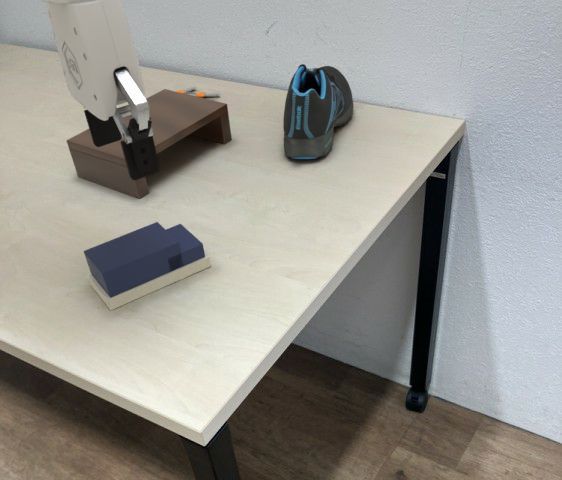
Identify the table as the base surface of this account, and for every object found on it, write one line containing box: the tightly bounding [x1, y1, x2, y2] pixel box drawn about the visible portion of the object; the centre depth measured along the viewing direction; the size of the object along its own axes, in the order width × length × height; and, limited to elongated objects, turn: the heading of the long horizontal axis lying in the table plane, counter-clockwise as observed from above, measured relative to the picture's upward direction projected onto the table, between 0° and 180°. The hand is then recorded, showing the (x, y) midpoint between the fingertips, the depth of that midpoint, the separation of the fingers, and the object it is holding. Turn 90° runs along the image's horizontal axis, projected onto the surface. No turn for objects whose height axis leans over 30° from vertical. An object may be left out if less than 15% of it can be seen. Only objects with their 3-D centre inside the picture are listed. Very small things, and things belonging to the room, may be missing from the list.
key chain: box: [175, 86, 221, 98], centre depth 116 cm, size 13×7×1 cm, turn 118°
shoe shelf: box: [66, 88, 232, 200], centre depth 98 cm, size 22×14×6 cm, turn 144°
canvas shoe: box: [83, 221, 212, 311], centre depth 75 cm, size 14×6×5 cm, turn 124°
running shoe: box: [282, 63, 354, 160], centre depth 100 cm, size 10×26×11 cm, turn 170°
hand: (126, 158), depth 65 cm, fingers open, 9 cm apart
